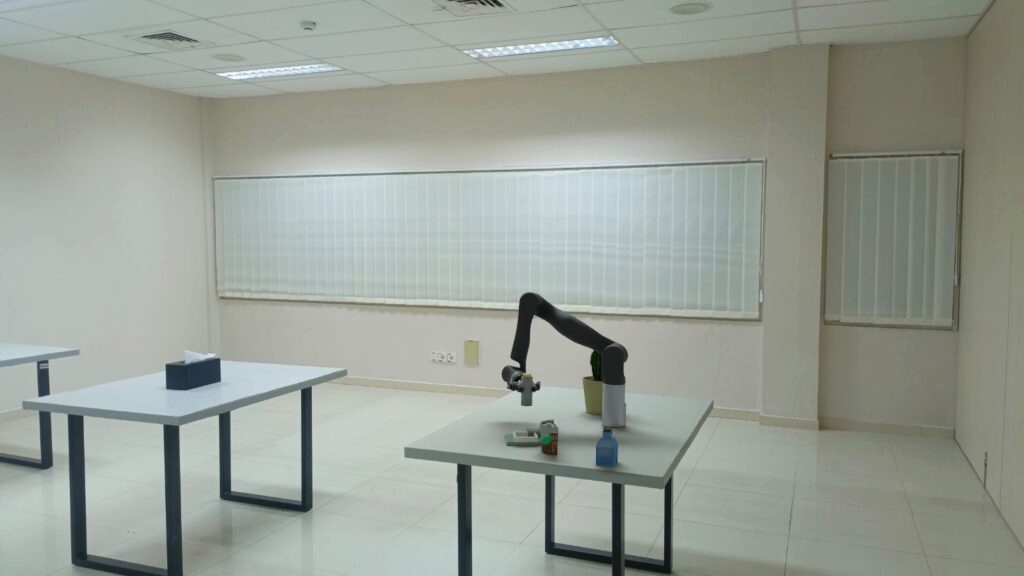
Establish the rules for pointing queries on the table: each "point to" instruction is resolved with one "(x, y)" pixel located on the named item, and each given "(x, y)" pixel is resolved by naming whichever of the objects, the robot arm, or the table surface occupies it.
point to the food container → (549, 437)
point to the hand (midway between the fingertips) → (528, 389)
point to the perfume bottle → (607, 448)
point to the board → (524, 438)
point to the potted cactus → (594, 385)
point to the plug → (527, 389)
